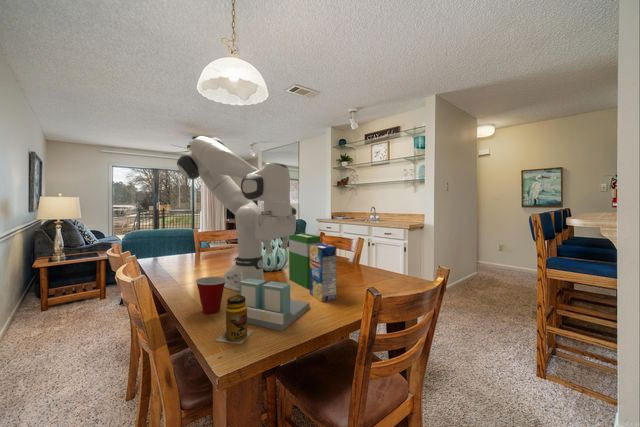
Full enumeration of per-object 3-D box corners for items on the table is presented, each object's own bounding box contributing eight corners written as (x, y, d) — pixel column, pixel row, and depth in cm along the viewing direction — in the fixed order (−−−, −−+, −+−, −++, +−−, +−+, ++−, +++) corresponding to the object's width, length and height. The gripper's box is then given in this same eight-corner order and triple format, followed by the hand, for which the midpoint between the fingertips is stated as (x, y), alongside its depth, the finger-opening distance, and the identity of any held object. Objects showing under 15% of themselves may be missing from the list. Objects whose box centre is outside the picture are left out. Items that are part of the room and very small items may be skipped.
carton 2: (262, 314, 92) (262, 285, 91) (271, 308, 96) (270, 281, 96) (282, 318, 88) (282, 288, 88) (290, 312, 93) (290, 283, 93)
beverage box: (322, 302, 108) (322, 248, 107) (309, 294, 118) (309, 244, 116) (336, 299, 111) (336, 246, 110) (323, 291, 121) (323, 243, 120)
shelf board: (231, 319, 92) (231, 305, 92) (265, 300, 110) (265, 288, 110) (281, 331, 84) (281, 315, 84) (309, 307, 102) (309, 294, 102)
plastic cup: (232, 310, 100) (232, 278, 99) (203, 319, 92) (203, 285, 91) (219, 302, 107) (218, 273, 107) (191, 310, 100) (190, 279, 99)
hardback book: (289, 279, 139) (288, 233, 138) (301, 277, 143) (301, 232, 142) (307, 289, 124) (307, 237, 123) (320, 286, 128) (320, 236, 127)
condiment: (242, 344, 77) (241, 302, 76) (214, 341, 78) (214, 301, 77) (252, 331, 84) (252, 294, 83) (227, 329, 85) (226, 292, 85)
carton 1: (239, 309, 96) (238, 281, 95) (248, 304, 100) (248, 277, 100) (257, 313, 92) (257, 284, 92) (266, 308, 97) (266, 280, 97)
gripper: (267, 211, 80) (267, 257, 81) (299, 209, 99) (299, 247, 100) (250, 211, 83) (250, 255, 83) (284, 209, 101) (284, 245, 102)
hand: (277, 251), depth 91 cm, fingers open, 8 cm apart
